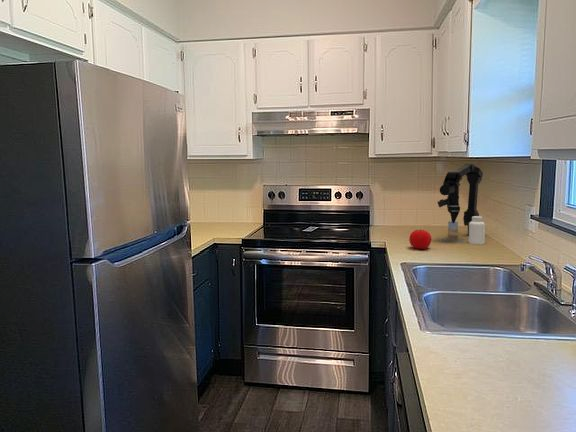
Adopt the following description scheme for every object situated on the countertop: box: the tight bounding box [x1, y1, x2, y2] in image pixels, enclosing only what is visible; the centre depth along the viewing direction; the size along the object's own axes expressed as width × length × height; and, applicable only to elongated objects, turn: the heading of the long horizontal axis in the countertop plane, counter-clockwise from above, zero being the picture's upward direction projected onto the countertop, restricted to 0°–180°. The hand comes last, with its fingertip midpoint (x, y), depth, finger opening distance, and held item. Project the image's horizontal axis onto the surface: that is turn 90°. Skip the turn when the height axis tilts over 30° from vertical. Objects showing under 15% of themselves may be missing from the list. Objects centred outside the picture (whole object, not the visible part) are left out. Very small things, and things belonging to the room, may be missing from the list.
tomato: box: [408, 229, 432, 250], centre depth 244 cm, size 11×13×10 cm
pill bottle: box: [468, 215, 486, 245], centre depth 253 cm, size 8×8×15 cm
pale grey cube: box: [447, 220, 459, 230], centre depth 261 cm, size 5×5×4 cm
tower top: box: [447, 228, 459, 236], centre depth 262 cm, size 5×5×4 cm
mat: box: [440, 238, 464, 243], centre depth 263 cm, size 11×12×1 cm
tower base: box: [447, 234, 459, 241], centre depth 262 cm, size 5×5×4 cm
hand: (452, 221), depth 261 cm, fingers open, 9 cm apart
